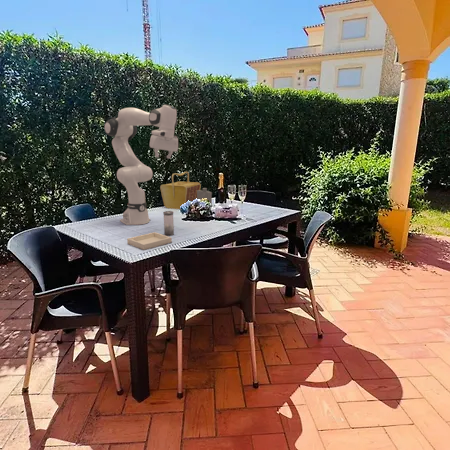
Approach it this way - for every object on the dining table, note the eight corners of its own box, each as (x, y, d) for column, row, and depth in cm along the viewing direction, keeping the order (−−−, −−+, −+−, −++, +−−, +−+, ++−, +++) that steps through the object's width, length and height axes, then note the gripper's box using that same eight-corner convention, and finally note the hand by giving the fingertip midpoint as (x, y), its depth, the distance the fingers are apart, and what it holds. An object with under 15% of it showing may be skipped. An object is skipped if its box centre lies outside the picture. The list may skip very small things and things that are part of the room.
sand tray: (127, 243, 170) (127, 238, 169) (154, 237, 183) (154, 232, 182) (144, 250, 160) (143, 244, 159) (171, 242, 172) (171, 237, 172)
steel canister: (162, 234, 188) (161, 212, 184) (170, 232, 192) (169, 210, 189) (168, 236, 184) (167, 213, 181) (176, 234, 188) (175, 212, 185)
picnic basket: (177, 202, 294) (176, 170, 287) (201, 204, 285) (201, 171, 278) (160, 208, 268) (158, 173, 260) (186, 210, 259) (185, 174, 251)
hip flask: (196, 211, 254) (196, 187, 249) (200, 211, 257) (200, 187, 252) (209, 214, 243) (209, 189, 238) (213, 214, 246) (213, 188, 241)
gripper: (174, 136, 192) (171, 158, 195) (149, 130, 175) (146, 155, 178) (182, 137, 189) (178, 160, 192) (157, 131, 172) (153, 156, 175)
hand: (162, 157), depth 185 cm, fingers open, 8 cm apart
